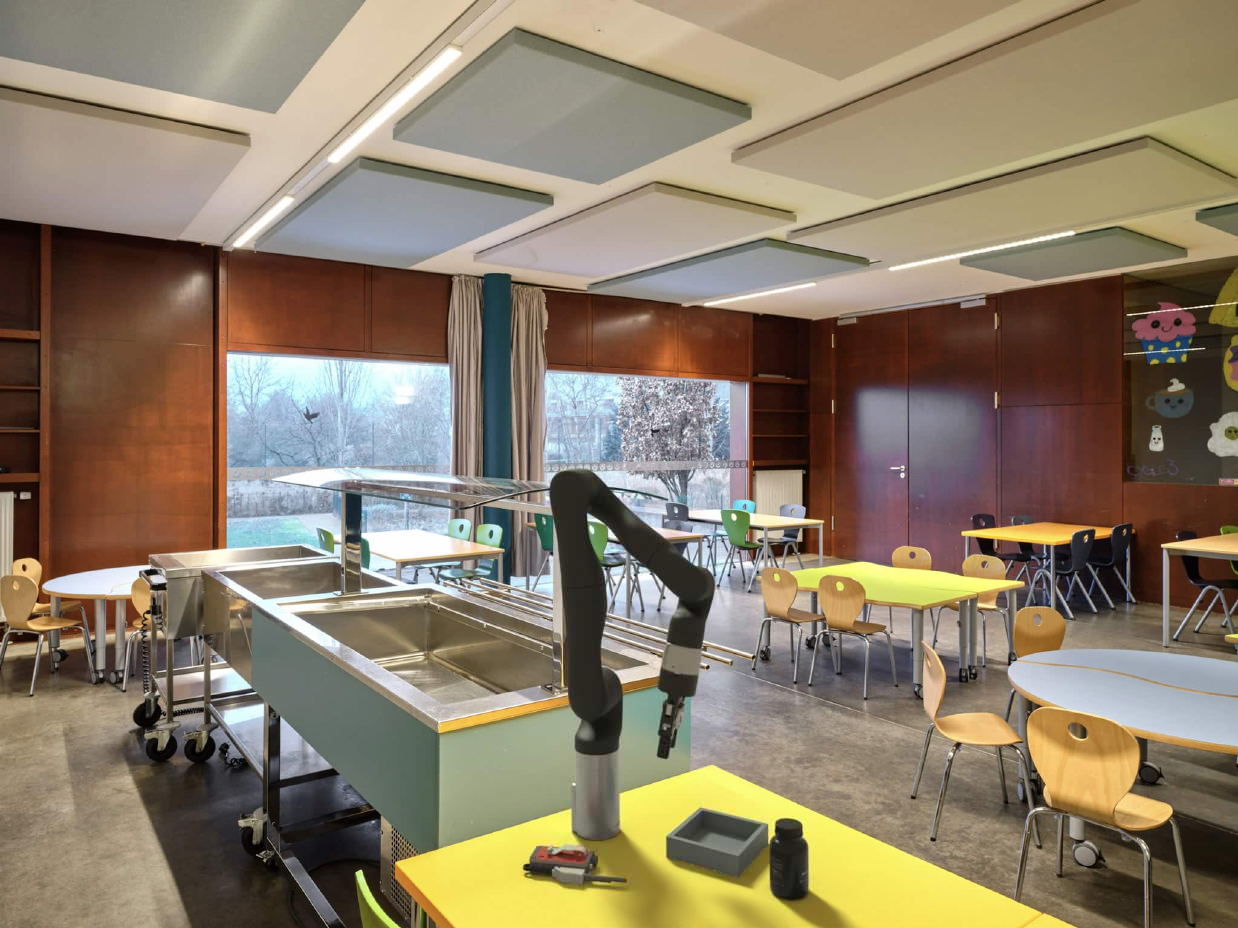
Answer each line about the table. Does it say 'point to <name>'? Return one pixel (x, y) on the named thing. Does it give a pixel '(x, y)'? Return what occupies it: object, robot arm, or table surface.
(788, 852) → the supplement bottle
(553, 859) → the walkie-talkie
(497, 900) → the table surface
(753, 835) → the tray
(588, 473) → the robot arm
